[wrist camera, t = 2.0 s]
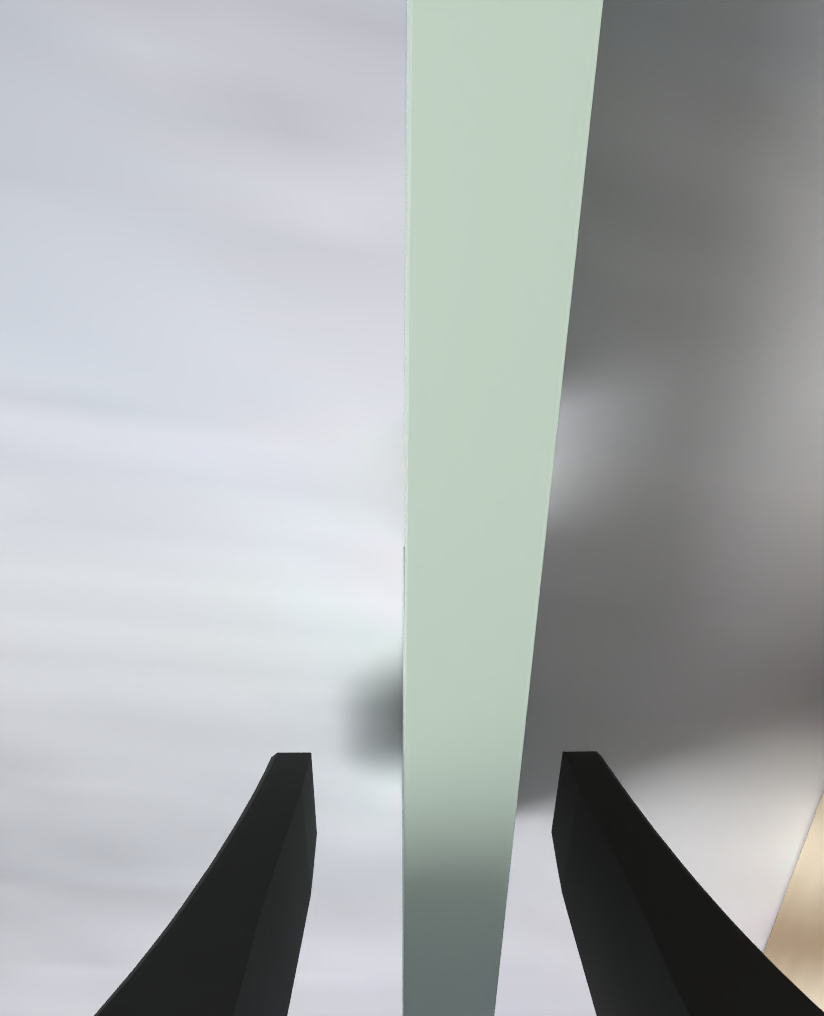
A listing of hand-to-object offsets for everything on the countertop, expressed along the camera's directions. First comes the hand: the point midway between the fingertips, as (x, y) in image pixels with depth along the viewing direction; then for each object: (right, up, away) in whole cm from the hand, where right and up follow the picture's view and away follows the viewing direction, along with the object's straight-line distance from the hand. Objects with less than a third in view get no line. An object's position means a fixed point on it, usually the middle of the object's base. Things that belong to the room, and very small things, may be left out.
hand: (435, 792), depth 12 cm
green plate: (0, +6, -1) cm, 6 cm away
